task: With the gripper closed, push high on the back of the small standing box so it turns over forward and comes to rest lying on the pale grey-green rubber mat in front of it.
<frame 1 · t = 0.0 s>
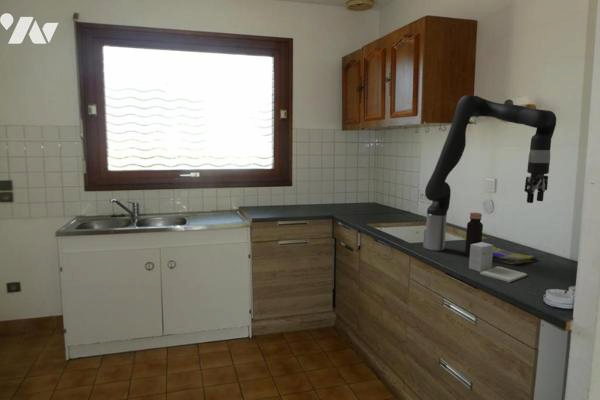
hand: (534, 201, 172), 29 cm above the worktop, tool pointing down, fingers open, 8 cm apart
mat: (503, 274, 173), on the worktop
bottle: (472, 256, 200), on the worktop
small box: (480, 269, 180), on the worktop
dish towel: (503, 258, 200), on the worktop
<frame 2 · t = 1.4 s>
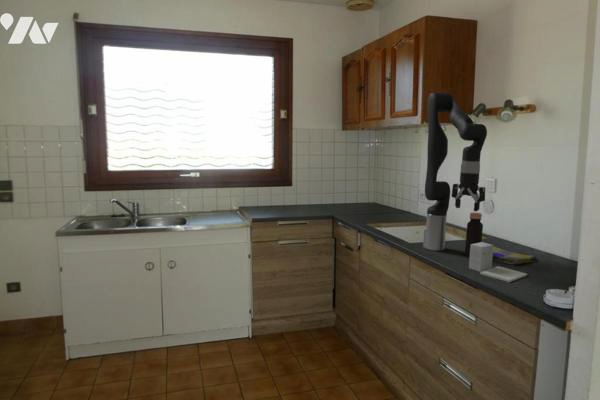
hand: (466, 209, 184), 24 cm above the worktop, tool pointing down, fingers open, 8 cm apart
nothing on the worktop moved.
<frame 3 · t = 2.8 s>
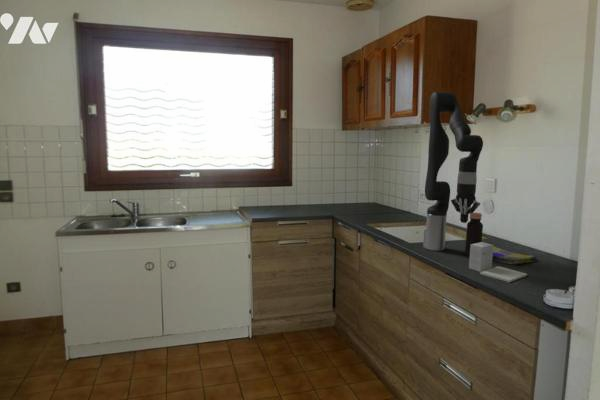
hand: (463, 222, 185), 18 cm above the worktop, tool pointing down, fingers closed
nothing on the worktop moved.
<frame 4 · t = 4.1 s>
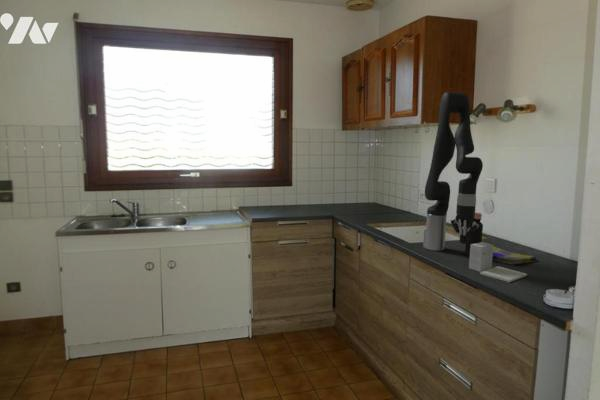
hand: (463, 243, 186), 9 cm above the worktop, tool pointing down, fingers closed
nothing on the worktop moved.
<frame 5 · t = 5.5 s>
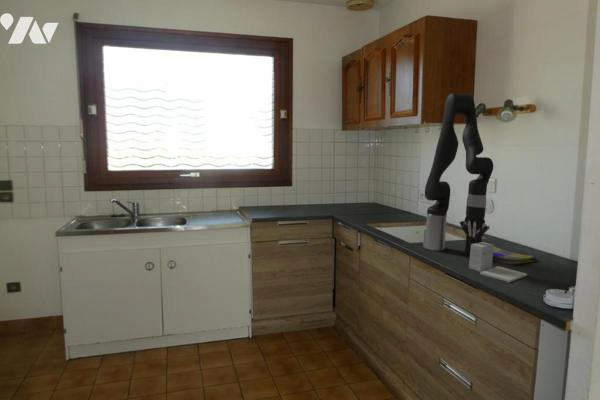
hand: (472, 245, 182), 9 cm above the worktop, tool pointing down, fingers closed
small box: (480, 269, 180), on the worktop, touching gripper
everything else where it was.
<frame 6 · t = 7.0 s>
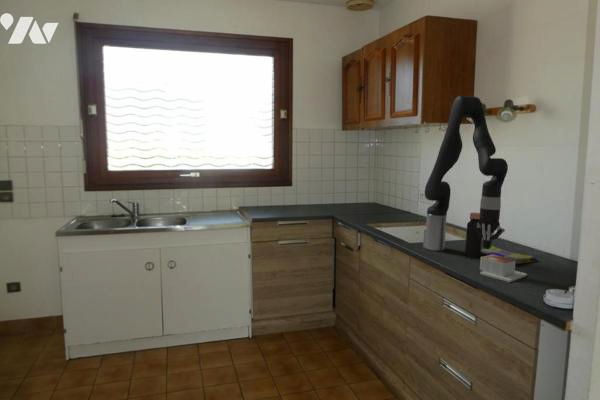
hand: (486, 248, 177), 9 cm above the worktop, tool pointing down, fingers closed
small box: (485, 261, 178), point 4 cm above the worktop, touching mat
everything else where it was.
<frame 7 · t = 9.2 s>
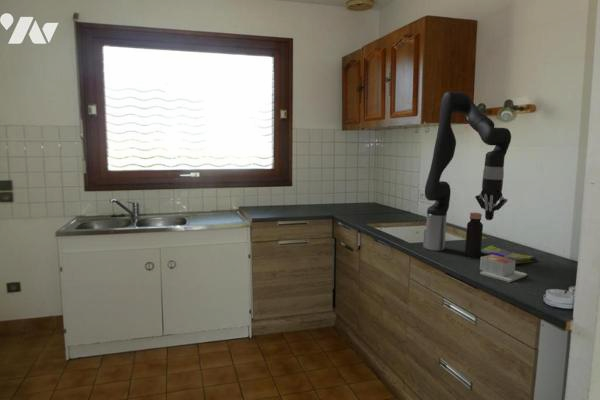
hand: (488, 219, 176), 21 cm above the worktop, tool pointing down, fingers closed
nothing on the worktop moved.
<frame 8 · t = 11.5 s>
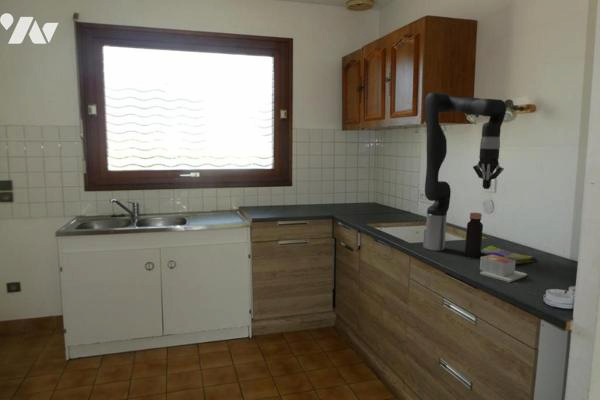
hand: (486, 188, 183), 33 cm above the worktop, tool pointing down, fingers closed
nothing on the worktop moved.
at the end: small box tilted 90°; small box touching mat; small box inside the target area (2.8 cm from its centre), point 3.5 cm above the worktop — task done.
